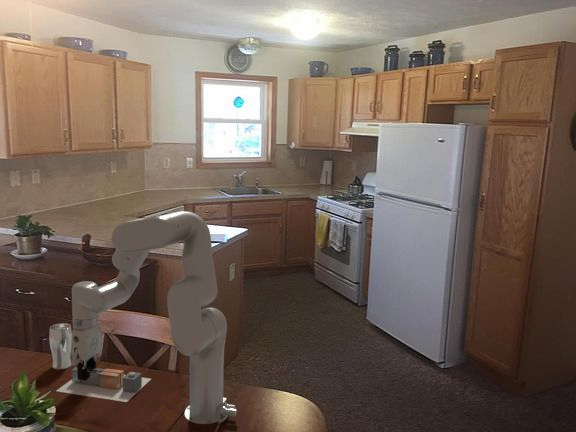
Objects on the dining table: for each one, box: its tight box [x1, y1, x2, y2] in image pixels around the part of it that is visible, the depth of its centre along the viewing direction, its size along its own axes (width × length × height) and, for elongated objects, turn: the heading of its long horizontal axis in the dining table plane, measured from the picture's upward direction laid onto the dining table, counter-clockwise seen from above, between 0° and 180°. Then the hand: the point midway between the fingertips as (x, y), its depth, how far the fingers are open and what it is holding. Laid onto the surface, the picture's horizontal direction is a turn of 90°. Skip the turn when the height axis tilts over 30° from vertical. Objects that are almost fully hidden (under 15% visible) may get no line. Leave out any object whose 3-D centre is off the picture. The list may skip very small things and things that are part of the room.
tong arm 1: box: [71, 366, 120, 389], centre depth 155 cm, size 16×2×4 cm, turn 76°
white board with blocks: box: [56, 371, 152, 403], centre depth 155 cm, size 24×15×6 cm, turn 77°
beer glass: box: [48, 322, 73, 370], centre depth 167 cm, size 7×7×15 cm
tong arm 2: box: [86, 366, 125, 386], centre depth 157 cm, size 16×2×4 cm, turn 79°
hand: (87, 375), depth 156 cm, fingers open, 3 cm apart
